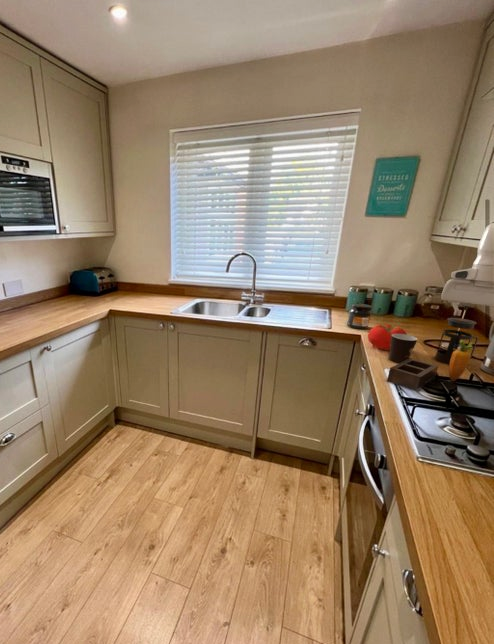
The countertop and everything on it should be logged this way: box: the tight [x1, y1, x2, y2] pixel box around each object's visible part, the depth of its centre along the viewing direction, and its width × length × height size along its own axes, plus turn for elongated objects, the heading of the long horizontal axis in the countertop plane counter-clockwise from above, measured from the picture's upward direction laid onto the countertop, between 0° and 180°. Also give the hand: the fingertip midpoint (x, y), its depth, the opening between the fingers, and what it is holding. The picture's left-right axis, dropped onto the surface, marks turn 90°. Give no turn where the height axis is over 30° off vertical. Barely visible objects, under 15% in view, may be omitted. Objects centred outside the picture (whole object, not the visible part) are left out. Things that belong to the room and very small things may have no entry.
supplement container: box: [346, 303, 373, 330], centre depth 176 cm, size 10×10×12 cm
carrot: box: [448, 340, 474, 383], centre depth 112 cm, size 5×5×15 cm
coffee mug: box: [388, 334, 418, 364], centre depth 131 cm, size 12×9×10 cm
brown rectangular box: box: [386, 357, 439, 392], centre depth 114 cm, size 9×16×5 cm, turn 127°
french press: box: [433, 303, 479, 365], centre depth 129 cm, size 12×9×23 cm
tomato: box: [367, 324, 408, 351], centre depth 145 cm, size 14×16×10 cm
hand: (474, 318), depth 106 cm, fingers open, 8 cm apart
